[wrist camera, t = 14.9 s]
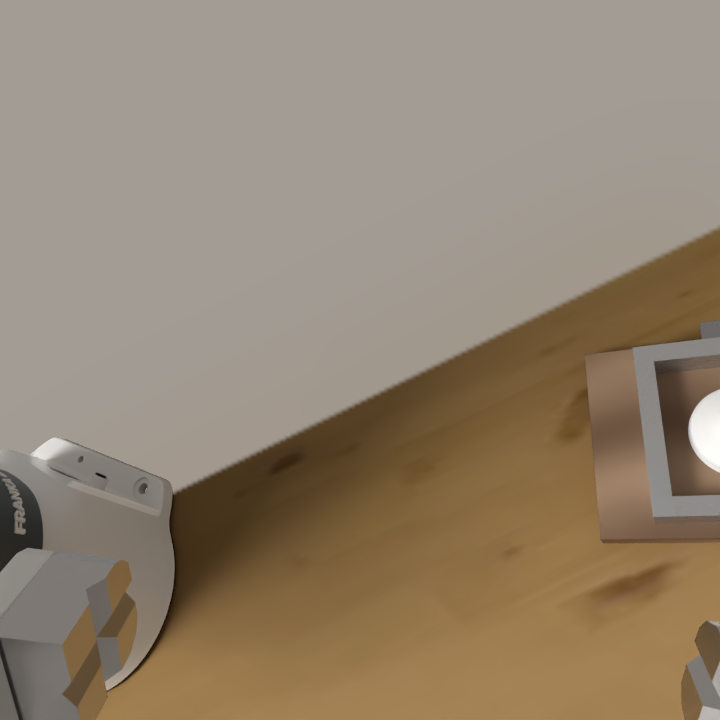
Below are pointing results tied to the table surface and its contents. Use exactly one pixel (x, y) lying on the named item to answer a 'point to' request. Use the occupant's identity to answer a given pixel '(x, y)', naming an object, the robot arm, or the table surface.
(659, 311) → the table surface
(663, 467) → the square frame tray
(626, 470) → the socket board
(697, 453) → the chess piece
